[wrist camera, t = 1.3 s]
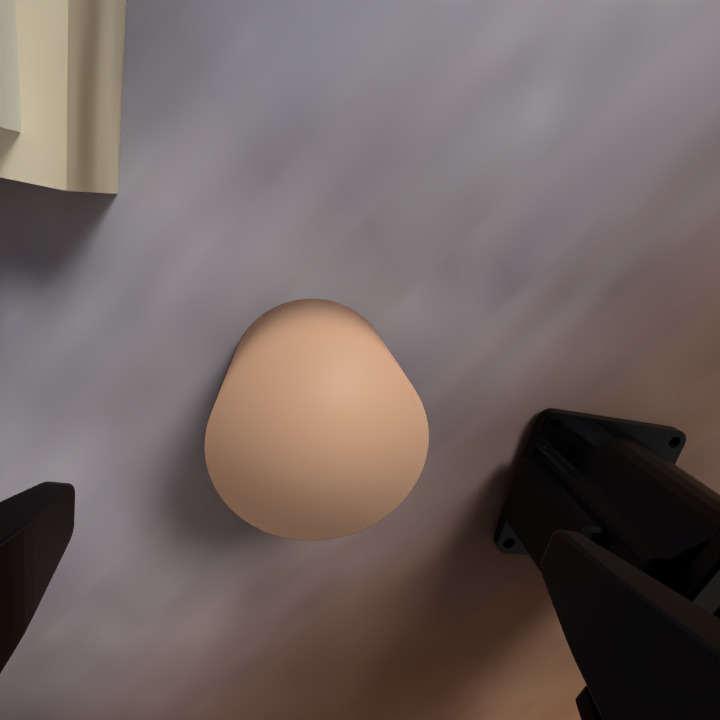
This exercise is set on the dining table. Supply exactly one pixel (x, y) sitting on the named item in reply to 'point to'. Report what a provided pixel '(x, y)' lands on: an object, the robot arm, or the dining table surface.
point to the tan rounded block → (314, 425)
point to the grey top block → (9, 68)
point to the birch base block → (67, 95)
